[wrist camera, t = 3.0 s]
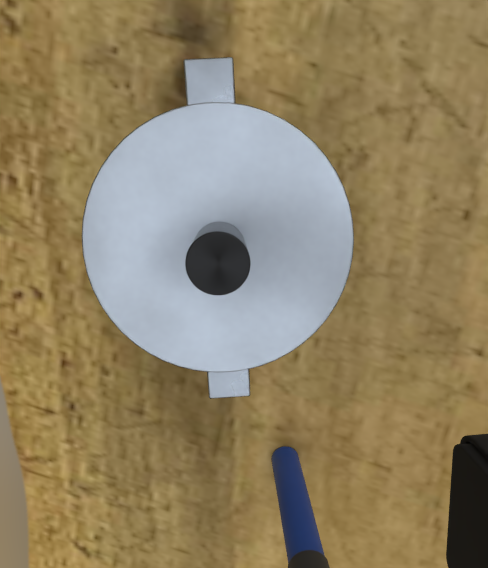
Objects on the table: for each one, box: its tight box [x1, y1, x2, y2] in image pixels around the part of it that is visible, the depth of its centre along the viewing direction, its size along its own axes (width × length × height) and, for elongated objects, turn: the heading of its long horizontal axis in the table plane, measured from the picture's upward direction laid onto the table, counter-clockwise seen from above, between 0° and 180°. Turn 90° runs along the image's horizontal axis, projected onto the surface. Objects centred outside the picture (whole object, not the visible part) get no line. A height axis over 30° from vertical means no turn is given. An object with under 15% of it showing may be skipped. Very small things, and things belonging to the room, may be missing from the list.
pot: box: [184, 57, 250, 399], centre depth 26 cm, size 13×18×8 cm
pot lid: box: [82, 102, 354, 372], centre depth 19 cm, size 14×14×6 cm
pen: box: [272, 447, 329, 568], centre depth 28 cm, size 2×2×12 cm
